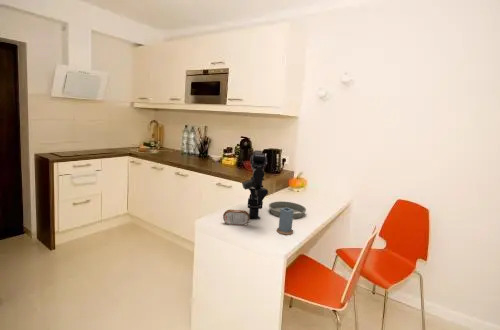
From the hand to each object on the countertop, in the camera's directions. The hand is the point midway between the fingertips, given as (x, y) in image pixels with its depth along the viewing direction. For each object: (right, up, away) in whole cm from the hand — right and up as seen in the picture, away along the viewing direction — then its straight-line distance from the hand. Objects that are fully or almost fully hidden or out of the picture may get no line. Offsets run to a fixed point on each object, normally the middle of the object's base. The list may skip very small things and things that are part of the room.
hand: (255, 202), depth 163 cm
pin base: (+16, -15, -5) cm, 22 cm away
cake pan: (+21, -11, +27) cm, 36 cm away
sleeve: (+16, -14, -5) cm, 22 cm away
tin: (-11, -13, +1) cm, 17 cm away
